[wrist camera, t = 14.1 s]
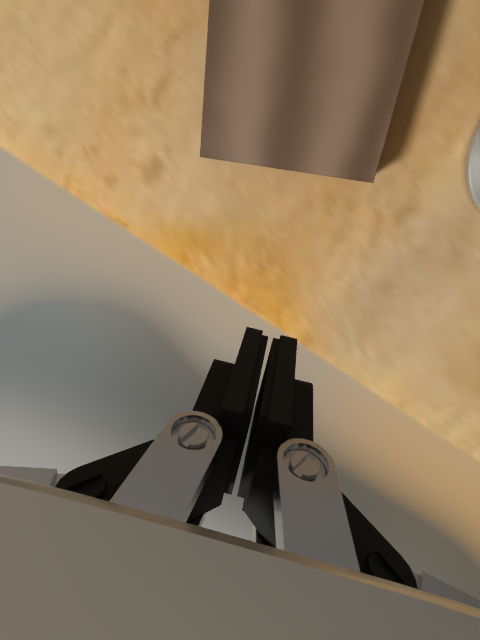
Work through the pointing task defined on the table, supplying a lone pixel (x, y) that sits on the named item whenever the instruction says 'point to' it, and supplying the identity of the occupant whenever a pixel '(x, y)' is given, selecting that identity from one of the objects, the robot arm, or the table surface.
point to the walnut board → (305, 82)
